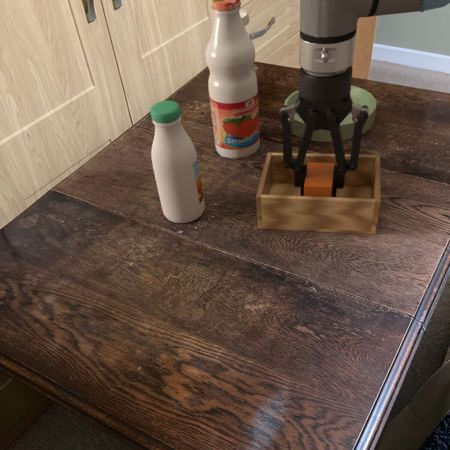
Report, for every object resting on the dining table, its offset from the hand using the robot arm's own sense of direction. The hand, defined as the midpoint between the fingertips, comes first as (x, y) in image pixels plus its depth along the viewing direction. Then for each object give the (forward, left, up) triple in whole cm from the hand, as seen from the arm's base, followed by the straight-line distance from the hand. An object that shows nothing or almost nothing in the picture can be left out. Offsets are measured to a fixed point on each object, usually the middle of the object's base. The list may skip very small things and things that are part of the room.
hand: (318, 201), depth 87 cm
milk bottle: (+24, +3, -1) cm, 24 cm away
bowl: (0, -31, -1) cm, 31 cm away
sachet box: (0, 0, 0) cm, 0 cm away
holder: (0, 0, -1) cm, 1 cm away
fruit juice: (+18, -19, -1) cm, 26 cm away
